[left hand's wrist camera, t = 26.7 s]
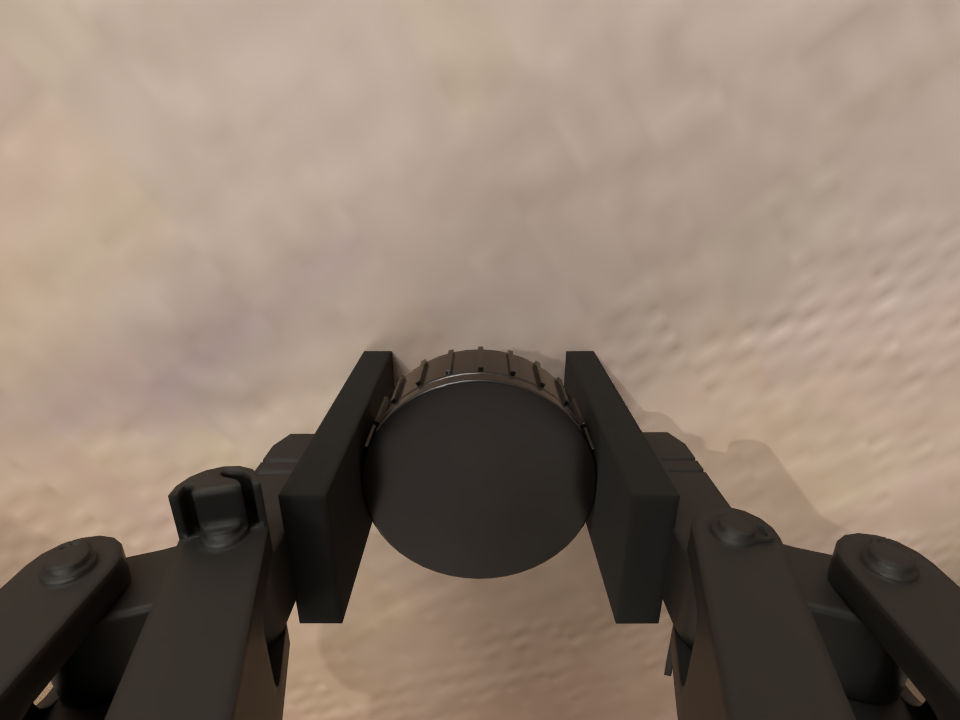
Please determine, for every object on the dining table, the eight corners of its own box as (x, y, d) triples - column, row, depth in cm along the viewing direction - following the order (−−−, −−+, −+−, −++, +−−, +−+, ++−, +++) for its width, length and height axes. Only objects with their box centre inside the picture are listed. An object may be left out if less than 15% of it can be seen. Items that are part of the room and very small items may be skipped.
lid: (606, 361, 11) (627, 395, 10) (561, 540, 13) (572, 593, 12) (381, 331, 11) (365, 360, 10) (367, 517, 13) (351, 568, 11)
